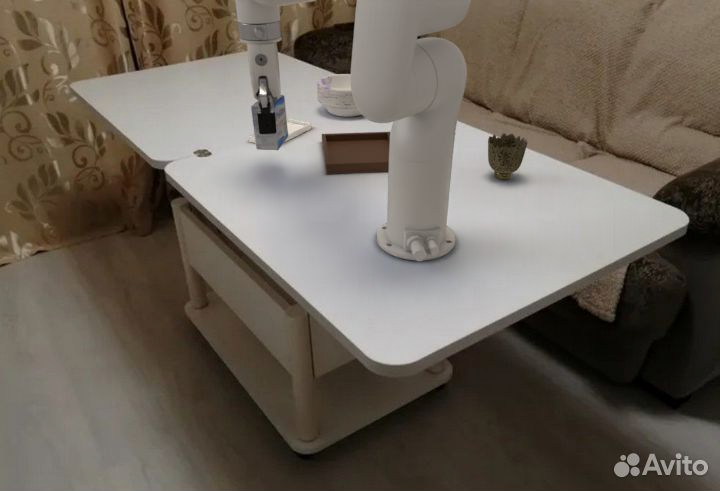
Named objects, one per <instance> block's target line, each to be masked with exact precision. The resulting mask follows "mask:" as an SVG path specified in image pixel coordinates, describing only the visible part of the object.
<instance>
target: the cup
mask: <svg viewBox="0 0 720 491" xmlns="http://www.w3.org/2000/svg"><path fill="white" fill-rule="evenodd" d="M528 143H529V142H528V141H527V139H526V138H525V137H523V138H521V136H520V135H519V136H517V137H516V135H515V134H513V133H509V134H506V133H505V132H503V133H501V135H500V136H499V137H498V136H497V135H496V134H493V135H492V136H490V135H489V136H488V139H487V161H488V164H489V167H490V168H491V169H492V170H493V177H494V178H495V179H497V180H498V181H509V180H512V177H513V173H515V172H516V171H518V170H519V169H520V167H521V166H522V163H523V160H524V157H525V154H526V150H527V146H528Z"/></svg>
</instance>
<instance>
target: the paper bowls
mask: <svg viewBox="0 0 720 491" xmlns="http://www.w3.org/2000/svg"><path fill="white" fill-rule="evenodd" d="M316 87H317V88H316V91H317V92H316V93H317V94H316V95H317V101H318V102H319V104H321V105H323V106H324V107H325V108H326V110H327V112H328V113H330V114H331V115H334V116H338V117H343V118H345V117H346V118H349V117H350V118H351V117H357V116H362V114H361V113H360V112H359V110H358V109H357V107H356V105H355V103H354V100H353V96H352V92H351V73H350V74H349V73H338V74H337V73H336V74H329V75H326V76H322V77H320V78H319V79H318V80H317V83H316Z"/></svg>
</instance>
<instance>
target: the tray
mask: <svg viewBox="0 0 720 491" xmlns="http://www.w3.org/2000/svg"><path fill="white" fill-rule="evenodd" d="M390 133H391V131H370V132H369V131H367V132H339V133H321V147H322V153H323V160H324V168H325V174H326V175H341V174H342V175H343V174H344V175H345V174H368V173H371V174H372V173H389V145H390Z"/></svg>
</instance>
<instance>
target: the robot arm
mask: <svg viewBox="0 0 720 491" xmlns="http://www.w3.org/2000/svg"><path fill="white" fill-rule="evenodd" d="M234 1H235V10H236V18H237V29H238V37H239V42H240V43H242V44H246V51H247V59H248V60H247V61H248V68H249V69H248V70H249V76H250V82H251V83H250V84H251V89H252V96H253V99H254V100H256V102H258V112H257V116H258V126H259V133H260V134H275V133H276V132H277V130H276V118H275V112H273V97H277V99H279V98H280V96H281V95H282V86H281V73H280V61H279V52H278V51H279V50H278V44H277V43H279V42H281V41H282V40H283V36H282V35H283V34H282V23H281V10H280V7H284V6H291V5H295V4H297V5H298V4H303V3H304V4H305V3H311V2H316V1H318V0H234ZM471 3H472V0H356V5H355V14H354V26H353V39H352V50H351V63H350V74H351V92H352V96H353V100H354V103H355V105H356V107H357V109H358V110H359V112H360V113H361V116H363V118H365V119H366V120H368V121H369V122H372V123H376V124H389V123H392V124H391V129H390V132H391V133H390V145H389V172H387V173H388V175H387V176H388V177H387V178H388V179H387V180H388V181H387V204H386V206H387V209H386V222H384V223H383V224H382V225H381V226H380V227H378V230H377V231H376V242H377V244H378V246H379V247H380V248H381V250H383V251H384V252H386V254H389V255H391V256H394V257H396V258H400V259H404V260H408V261H409V260H410V261H415V262H422V261H428V260H434V259H438V258H441V257H443V256H445V255H447V254H449V253H450V252H451V251H452V250H453V249H454V247H455V245H456V244H455V243H456V235H455V233H454V231H453V229H451V228H450V227H449V226H448V225H447V224H448V214H449V202H450V192H451V181H452V179H451V178H452V171H453V170H452V169H453V168H452V167H453V158H454V149H455V140H456V139H455V137H456V130H457V122H458V119H459V118H458V117H459V115H460V114H459V113H460V109H461V105H462V102H463V98H464V94H465V90H466V85H467V79H468V67H467V63H466V59H465V57H464V54H463V52H462V50H461V49H460V48H459V47H458V46H457V45H456V44H455V43H454V42H452V41H450V40H448V39H446V38H442V37H437V36H429V37H422V38H421V36H423V35H424V36H426V35H430V34H434V33H439V32H443V31H446V30H449V29H451V28H454V27H457V25H459V24H461V22H463V20H464V19H465V18H466V16H467V14H468V12H469V9H470V6H471ZM418 37H420V38H418ZM269 101H270V102H269Z"/></svg>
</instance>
